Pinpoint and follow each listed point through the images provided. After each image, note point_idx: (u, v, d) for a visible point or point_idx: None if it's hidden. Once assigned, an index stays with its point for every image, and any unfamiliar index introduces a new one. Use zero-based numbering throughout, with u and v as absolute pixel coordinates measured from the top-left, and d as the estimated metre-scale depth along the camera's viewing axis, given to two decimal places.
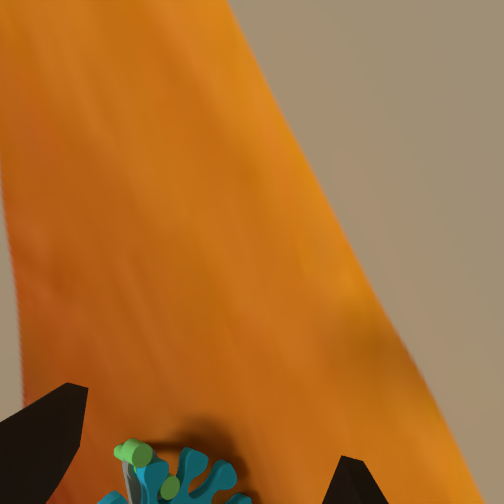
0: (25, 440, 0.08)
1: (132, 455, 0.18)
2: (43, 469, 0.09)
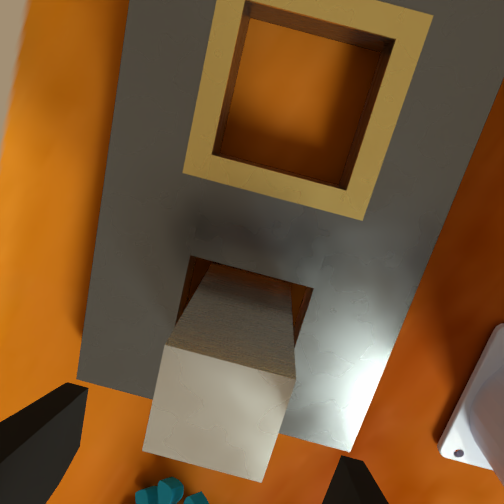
0: (25, 440, 0.08)
1: None
2: (43, 469, 0.09)
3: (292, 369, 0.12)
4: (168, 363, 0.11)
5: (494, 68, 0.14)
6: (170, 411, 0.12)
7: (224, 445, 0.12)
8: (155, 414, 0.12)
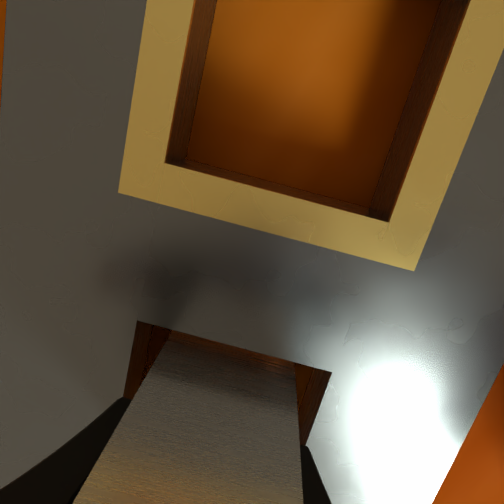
0: None
1: None
2: None
3: None
4: None
5: None
6: None
7: None
8: None
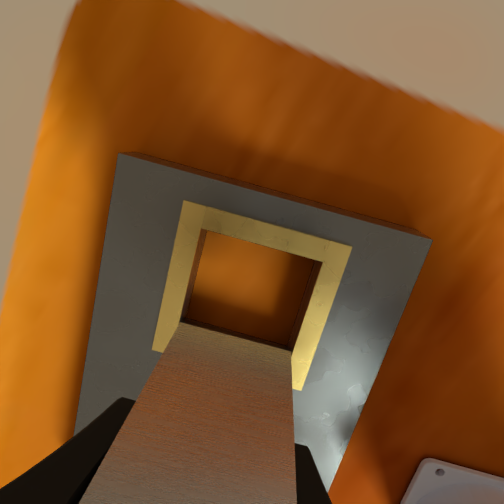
0: (97, 459, 0.08)
1: None
2: None
3: None
4: None
5: (403, 284, 0.17)
6: None
7: None
8: None
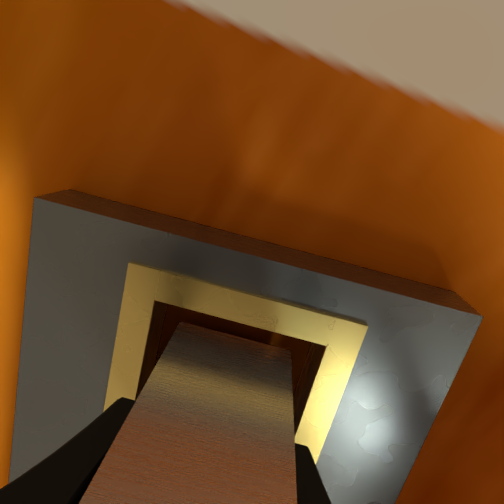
0: (98, 459, 0.08)
1: None
2: None
3: None
4: None
5: (440, 375, 0.12)
6: None
7: None
8: None
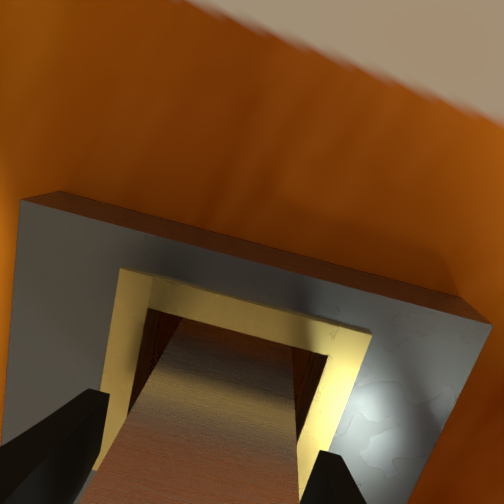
0: (54, 448, 0.08)
1: None
2: (68, 476, 0.09)
3: None
4: None
5: (447, 386, 0.12)
6: None
7: None
8: None
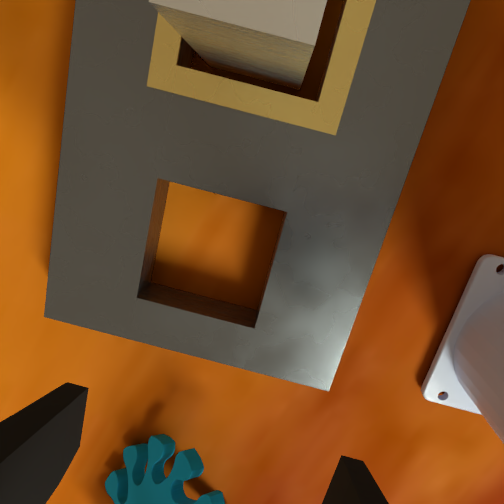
0: (25, 440, 0.08)
1: None
2: (43, 469, 0.09)
3: None
4: None
5: None
6: None
7: None
8: None
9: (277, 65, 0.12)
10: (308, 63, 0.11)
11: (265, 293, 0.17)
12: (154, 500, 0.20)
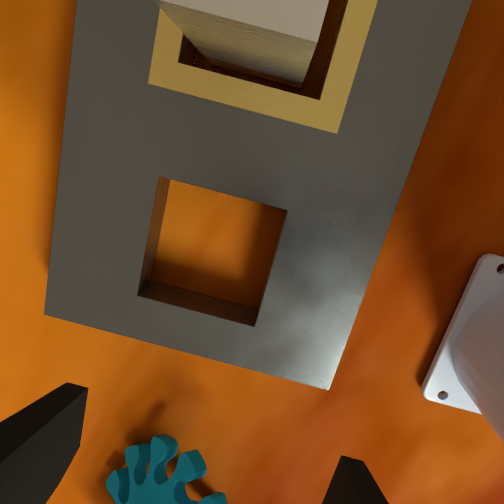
0: (25, 440, 0.08)
1: None
2: (43, 469, 0.09)
3: None
4: None
5: None
6: None
7: None
8: None
9: (279, 63, 0.12)
10: (310, 60, 0.11)
11: (265, 291, 0.17)
12: (156, 500, 0.20)
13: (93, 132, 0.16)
